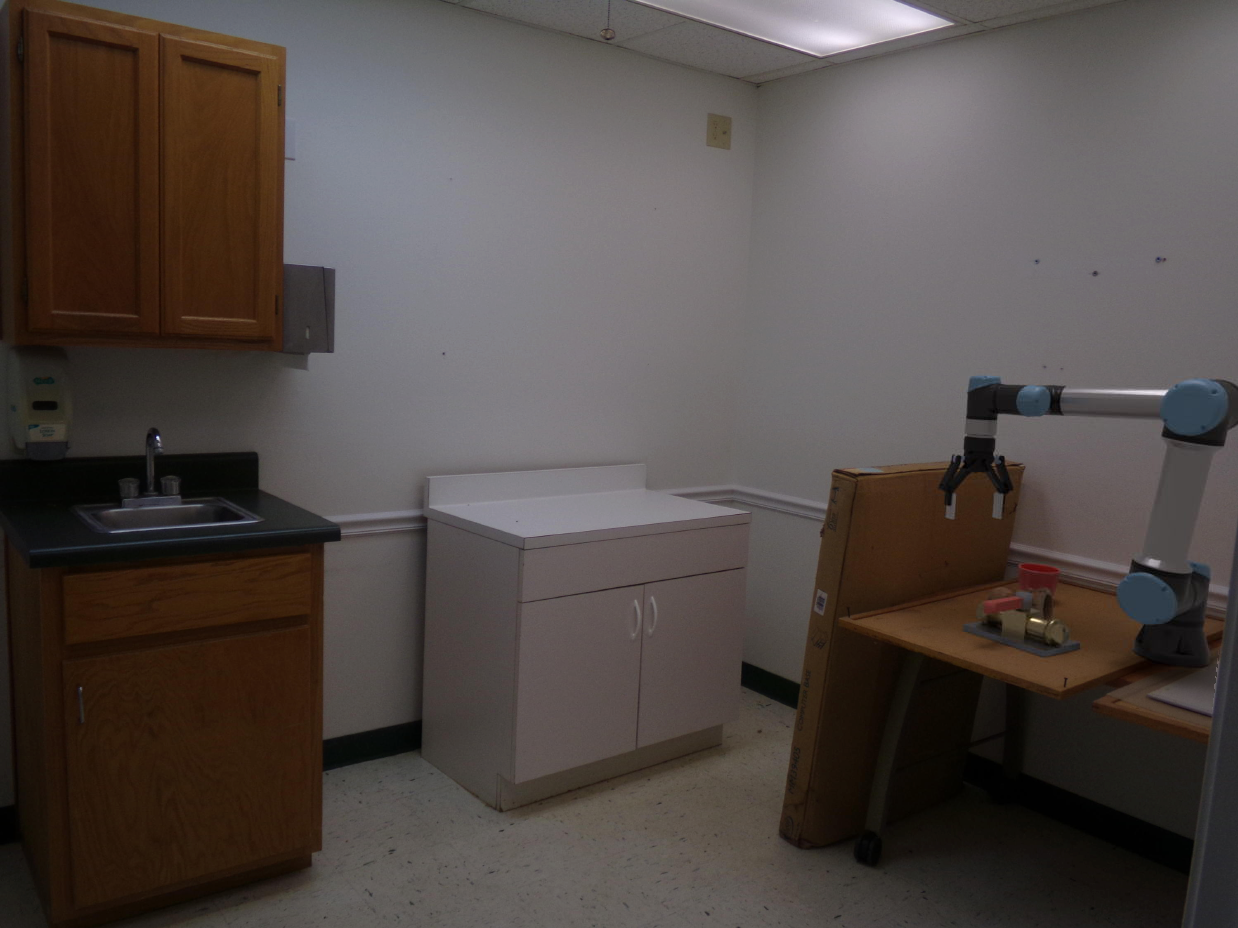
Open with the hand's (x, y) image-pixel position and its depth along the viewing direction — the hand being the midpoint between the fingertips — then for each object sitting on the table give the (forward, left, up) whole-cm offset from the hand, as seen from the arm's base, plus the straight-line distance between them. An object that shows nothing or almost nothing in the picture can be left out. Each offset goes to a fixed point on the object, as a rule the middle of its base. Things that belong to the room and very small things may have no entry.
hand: (973, 518), depth 234 cm
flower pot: (+2, -34, -27) cm, 43 cm away
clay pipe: (-9, -11, -27) cm, 30 cm away
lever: (-18, +10, -19) cm, 28 cm away
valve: (-18, +3, -26) cm, 32 cm away
